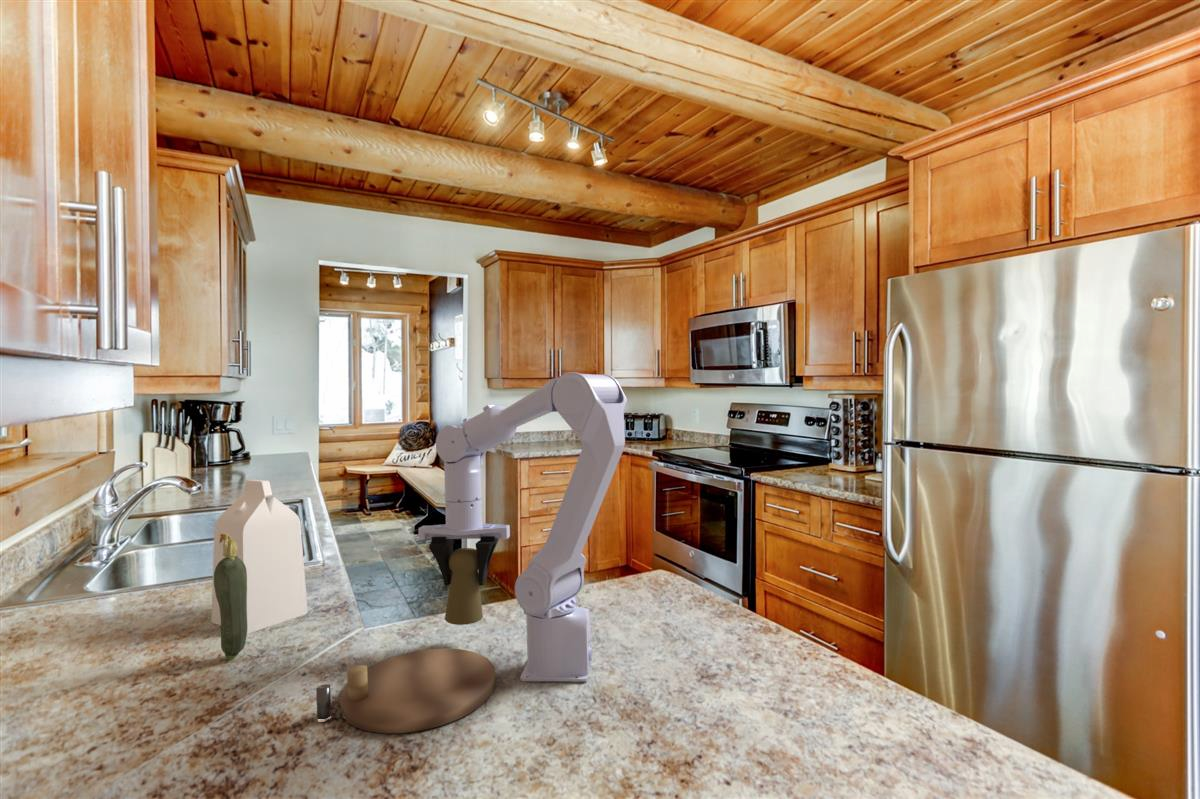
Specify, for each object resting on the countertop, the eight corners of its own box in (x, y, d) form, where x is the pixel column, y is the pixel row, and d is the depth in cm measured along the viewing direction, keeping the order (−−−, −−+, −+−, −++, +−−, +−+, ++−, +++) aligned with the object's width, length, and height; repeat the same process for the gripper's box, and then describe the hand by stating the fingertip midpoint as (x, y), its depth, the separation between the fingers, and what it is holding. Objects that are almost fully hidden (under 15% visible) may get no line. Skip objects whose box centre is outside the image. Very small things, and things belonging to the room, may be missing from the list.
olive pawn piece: (472, 626, 89) (474, 556, 88) (437, 622, 90) (439, 553, 90) (489, 612, 95) (490, 546, 94) (456, 608, 96) (457, 543, 96)
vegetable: (254, 657, 90) (252, 531, 90) (227, 669, 86) (224, 537, 86) (237, 652, 92) (234, 529, 92) (209, 664, 88) (206, 535, 88)
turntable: (470, 647, 92) (469, 616, 92) (517, 702, 74) (516, 663, 74) (333, 680, 81) (332, 645, 81) (351, 753, 64) (350, 708, 64)
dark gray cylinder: (476, 672, 83) (476, 644, 83) (444, 724, 70) (443, 692, 70) (367, 671, 85) (366, 644, 85) (314, 722, 71) (313, 690, 71)
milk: (307, 613, 109) (304, 478, 110) (244, 634, 100) (240, 486, 100) (274, 603, 116) (271, 475, 116) (211, 622, 106) (208, 482, 106)
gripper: (513, 494, 96) (515, 575, 95) (429, 496, 97) (431, 576, 97) (502, 502, 89) (505, 589, 88) (412, 503, 90) (414, 589, 90)
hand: (465, 583), depth 92 cm, fingers closed on olive pawn piece, 5 cm apart
